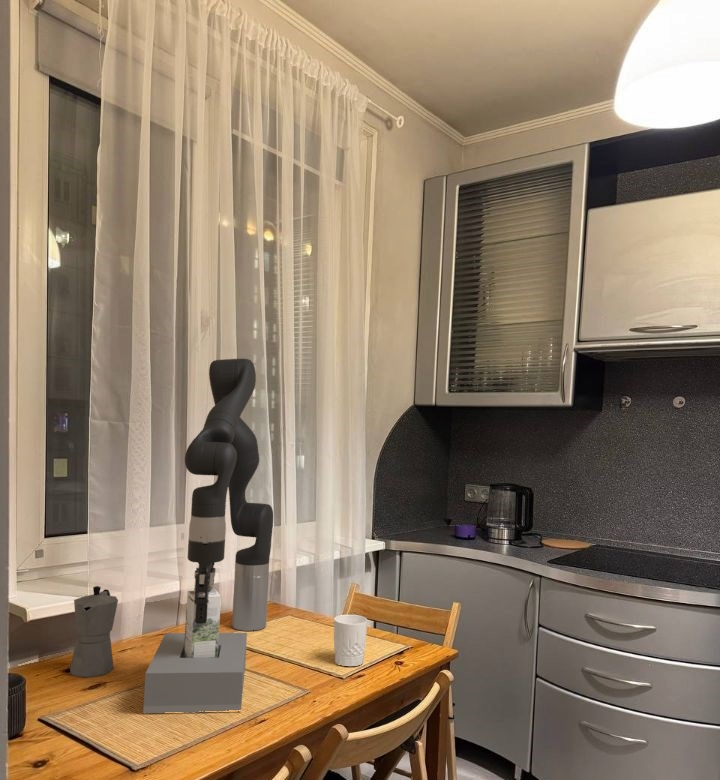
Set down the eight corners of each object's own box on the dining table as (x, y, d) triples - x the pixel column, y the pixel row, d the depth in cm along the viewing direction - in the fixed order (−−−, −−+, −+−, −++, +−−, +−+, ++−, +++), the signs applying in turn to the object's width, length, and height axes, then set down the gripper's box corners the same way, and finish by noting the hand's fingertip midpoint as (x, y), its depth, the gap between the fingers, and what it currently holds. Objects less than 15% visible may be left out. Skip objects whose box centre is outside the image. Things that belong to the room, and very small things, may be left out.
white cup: (339, 670, 148) (341, 625, 149) (327, 658, 156) (329, 615, 156) (371, 666, 152) (372, 622, 152) (357, 655, 159) (359, 613, 159)
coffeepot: (104, 681, 137) (110, 594, 138) (58, 681, 136) (63, 593, 137) (124, 656, 152) (129, 577, 153) (83, 655, 151) (88, 576, 152)
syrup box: (209, 656, 140) (213, 587, 141) (217, 665, 134) (221, 594, 135) (183, 660, 137) (186, 589, 138) (189, 669, 132) (193, 596, 133)
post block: (163, 667, 146) (165, 633, 146) (245, 666, 148) (246, 632, 149) (143, 714, 122) (145, 673, 123) (240, 712, 125) (242, 672, 125)
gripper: (192, 531, 144) (188, 608, 143) (184, 543, 130) (179, 628, 129) (227, 532, 145) (223, 608, 144) (222, 543, 131) (218, 628, 130)
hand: (202, 617), depth 136 cm, fingers closed on syrup box, 7 cm apart
